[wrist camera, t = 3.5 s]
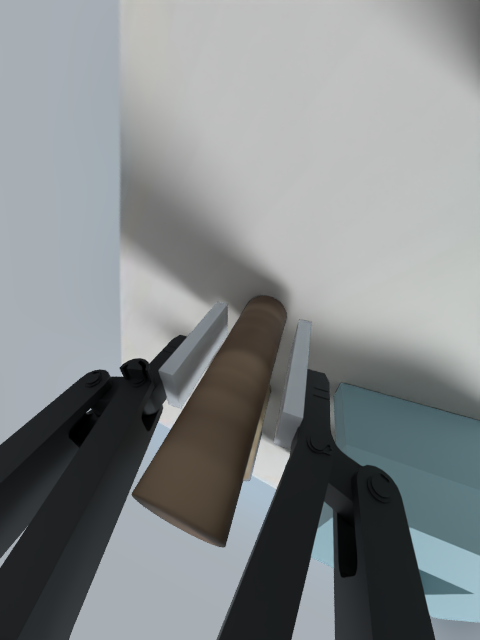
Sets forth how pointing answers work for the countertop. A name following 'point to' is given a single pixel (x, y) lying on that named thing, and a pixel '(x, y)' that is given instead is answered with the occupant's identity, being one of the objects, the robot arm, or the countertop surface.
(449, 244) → the countertop surface
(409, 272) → the countertop surface
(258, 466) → the countertop surface
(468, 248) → the countertop surface
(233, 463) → the walnut pin
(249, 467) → the oak pin
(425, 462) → the bridge
